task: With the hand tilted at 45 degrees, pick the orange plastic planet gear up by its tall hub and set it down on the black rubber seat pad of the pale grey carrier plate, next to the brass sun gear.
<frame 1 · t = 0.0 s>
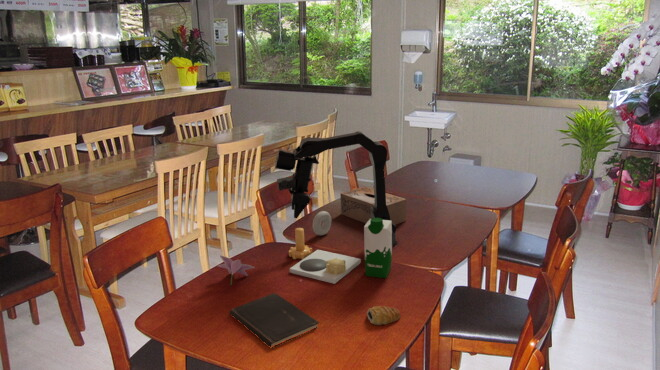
hand: (294, 213, 197), 15 cm above the table, tool pointing down, fingers open, 9 cm apart
pastry: (381, 319, 155), on the table
lily: (236, 280, 181), on the table
planet gear: (300, 254, 199), on the table
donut: (322, 235, 217), on the table
hardcover book: (273, 323, 156), on the table
carrier plate: (325, 267, 188), on the table
tissue box cover: (372, 218, 235), on the table
milk carton: (378, 273, 183), on the table
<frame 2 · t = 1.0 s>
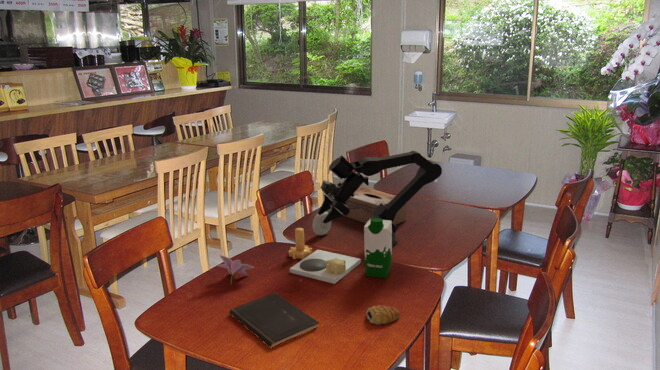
hand: (321, 218, 197), 13 cm above the table, tool tilted 45°, fingers open, 9 cm apart
nothing on the table moved.
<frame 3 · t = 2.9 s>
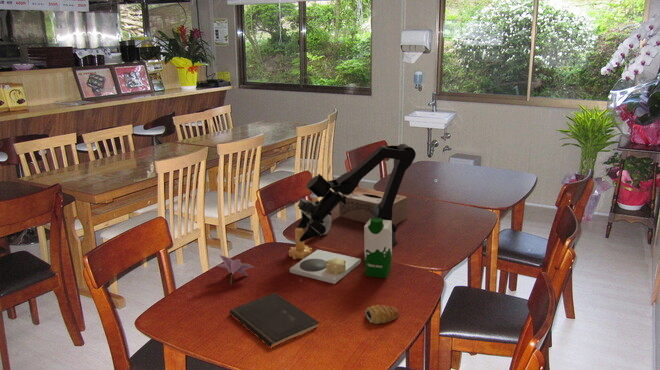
hand: (298, 236, 197), 7 cm above the table, tool tilted 45°, fingers open, 9 cm apart
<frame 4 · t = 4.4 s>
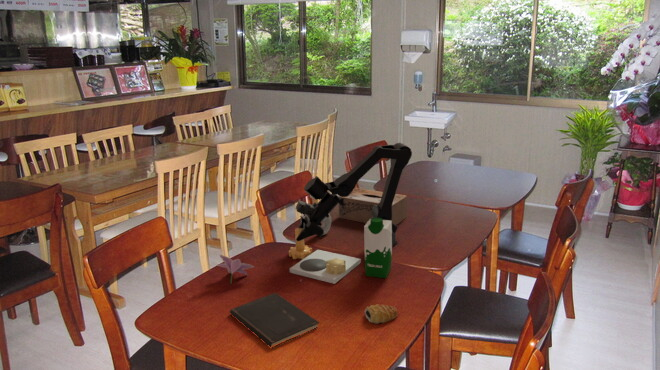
hand: (296, 238, 197), 7 cm above the table, tool tilted 45°, fingers closed on planet gear, 3 cm apart
planet gear: (300, 254, 199), on the table, touching gripper
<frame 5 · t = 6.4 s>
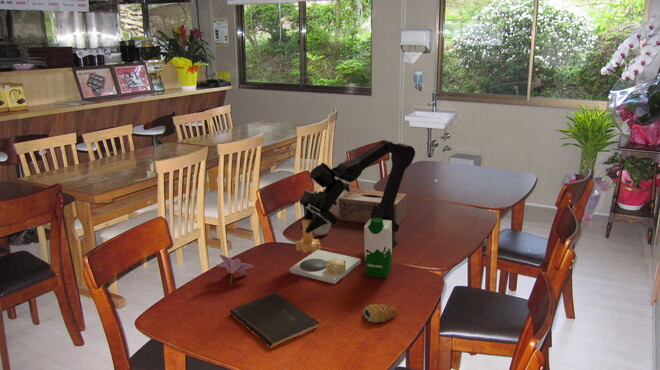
hand: (303, 231, 185), 13 cm above the table, tool tilted 45°, fingers closed on planet gear, 3 cm apart
planet gear: (308, 247, 188), point 7 cm above the table, touching gripper
when the fingers open (10 cm above the table, at t = 8.2 s): planet gear drops 1 cm, resting on carrier plate.
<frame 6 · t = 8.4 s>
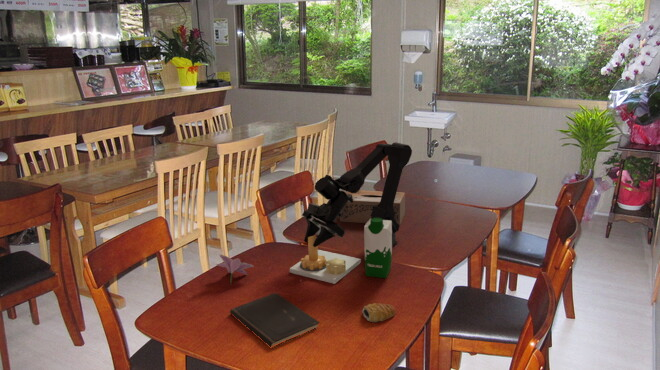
hand: (309, 244, 184), 10 cm above the table, tool tilted 45°, fingers open, 5 cm apart
planet gear: (313, 264, 187), point 2 cm above the table, touching carrier plate
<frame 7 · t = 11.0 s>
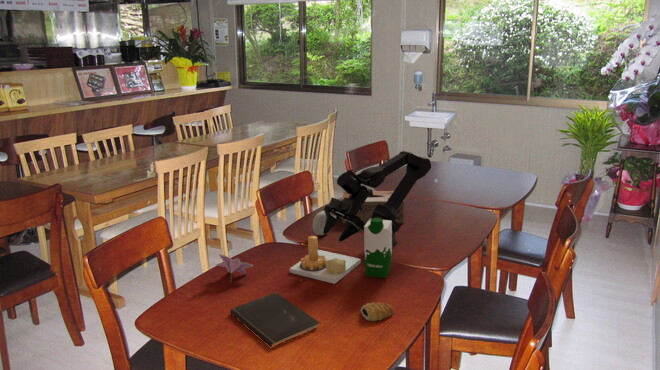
hand: (331, 237, 189), 10 cm above the table, tool tilted 45°, fingers open, 9 cm apart
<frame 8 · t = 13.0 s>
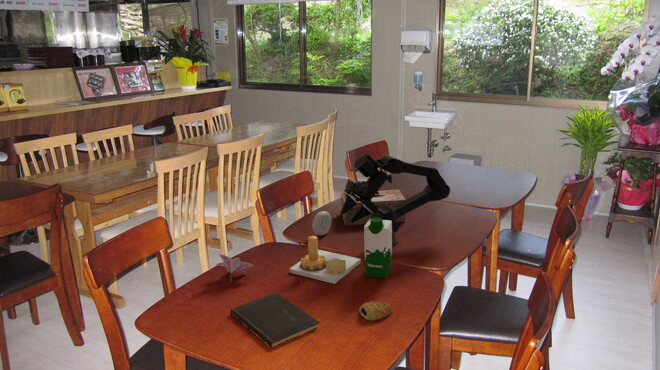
hand: (346, 217, 196), 14 cm above the table, tool tilted 45°, fingers open, 9 cm apart
at the end: planet gear 0.0 cm from the target spot on the carrier plate, point 1.8 cm above the carrier plate's base; planet gear tilted 0°; the gripper is holding nothing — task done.
